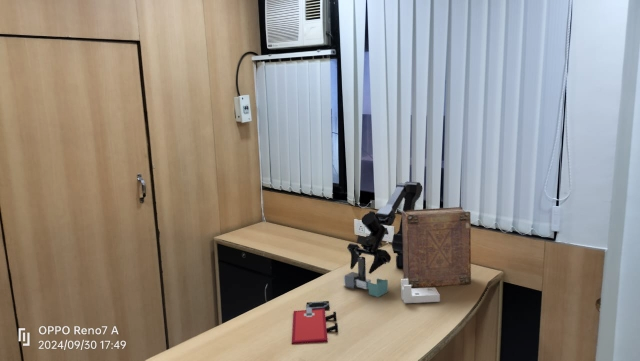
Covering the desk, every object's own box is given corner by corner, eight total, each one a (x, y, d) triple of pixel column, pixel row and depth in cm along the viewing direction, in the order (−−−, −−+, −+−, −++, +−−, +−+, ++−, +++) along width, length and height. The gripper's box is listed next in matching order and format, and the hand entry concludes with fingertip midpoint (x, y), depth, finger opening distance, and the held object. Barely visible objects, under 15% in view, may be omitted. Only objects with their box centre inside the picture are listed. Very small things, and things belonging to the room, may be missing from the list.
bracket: (404, 305, 173) (404, 286, 172) (401, 297, 180) (400, 279, 179) (439, 304, 173) (439, 284, 172) (435, 296, 180) (435, 277, 179)
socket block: (368, 294, 184) (368, 282, 183) (378, 289, 189) (378, 277, 188) (378, 297, 181) (378, 284, 180) (387, 292, 186) (387, 279, 185)
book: (462, 276, 199) (462, 206, 194) (470, 284, 190) (471, 211, 185) (403, 280, 197) (401, 210, 193) (408, 288, 188) (407, 215, 184)
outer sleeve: (345, 287, 193) (344, 275, 192) (352, 283, 197) (352, 271, 196) (353, 289, 190) (353, 277, 189) (361, 285, 194) (360, 274, 193)
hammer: (343, 283, 195) (342, 255, 193) (348, 281, 197) (347, 253, 195) (366, 289, 187) (365, 260, 185) (370, 287, 189) (369, 258, 187)
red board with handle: (333, 302, 178) (294, 305, 178) (333, 295, 178) (293, 298, 178) (339, 342, 149) (292, 346, 149) (339, 334, 148) (291, 338, 148)
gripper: (348, 224, 196) (332, 256, 189) (386, 230, 183) (370, 265, 177) (360, 238, 203) (345, 270, 196) (397, 245, 190) (382, 279, 184)
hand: (360, 271), depth 188 cm, fingers open, 9 cm apart
